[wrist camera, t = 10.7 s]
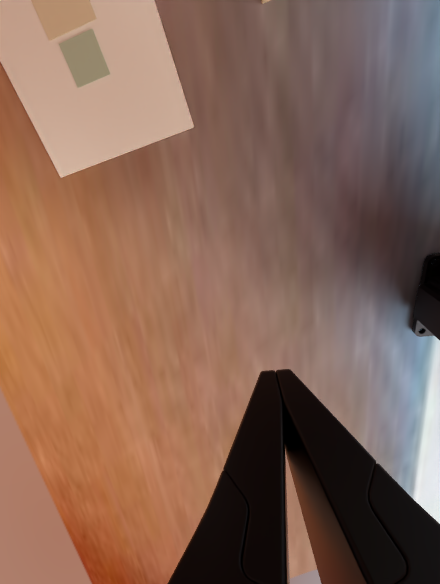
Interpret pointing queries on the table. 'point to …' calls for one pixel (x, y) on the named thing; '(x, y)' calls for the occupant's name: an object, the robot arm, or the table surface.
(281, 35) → the table surface
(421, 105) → the table surface
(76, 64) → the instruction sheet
